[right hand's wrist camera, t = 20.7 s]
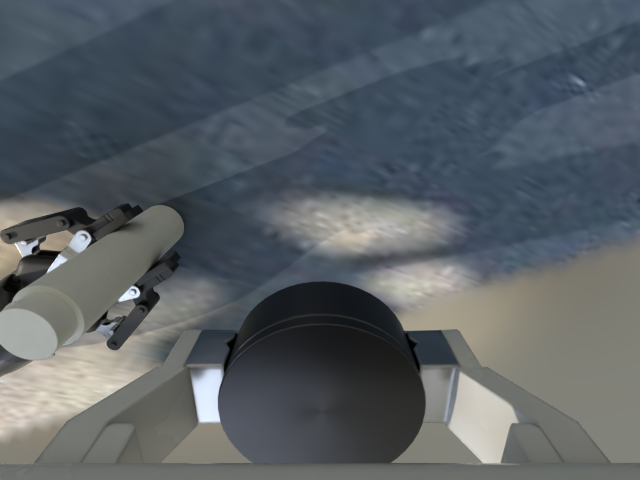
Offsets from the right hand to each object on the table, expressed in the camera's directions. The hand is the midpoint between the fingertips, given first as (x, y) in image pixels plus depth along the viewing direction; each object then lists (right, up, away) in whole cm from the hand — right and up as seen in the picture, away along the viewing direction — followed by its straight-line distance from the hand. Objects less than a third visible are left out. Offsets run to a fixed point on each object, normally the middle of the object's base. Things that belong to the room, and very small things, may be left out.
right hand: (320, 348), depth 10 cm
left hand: (-14, +4, +20) cm, 24 cm away
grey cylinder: (-16, +5, +26) cm, 31 cm away
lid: (0, -1, -2) cm, 2 cm away
